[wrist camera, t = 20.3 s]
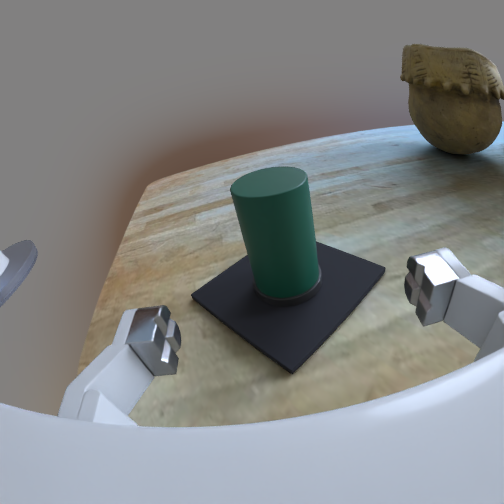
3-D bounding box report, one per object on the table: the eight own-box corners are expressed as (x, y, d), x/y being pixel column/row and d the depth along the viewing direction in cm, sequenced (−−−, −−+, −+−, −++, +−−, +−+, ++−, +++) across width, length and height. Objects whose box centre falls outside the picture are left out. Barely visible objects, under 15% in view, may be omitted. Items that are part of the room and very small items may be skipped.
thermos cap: (290, 318, 21) (268, 206, 16) (241, 288, 25) (210, 190, 20) (335, 275, 24) (327, 171, 19) (286, 254, 27) (268, 162, 22)
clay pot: (434, 132, 54) (427, 49, 43) (514, 156, 37) (513, 60, 26) (384, 149, 48) (371, 44, 37) (487, 183, 31) (487, 48, 20)
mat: (292, 374, 18) (291, 370, 17) (192, 298, 26) (190, 294, 26) (385, 271, 23) (385, 267, 23) (283, 233, 31) (283, 229, 31)
